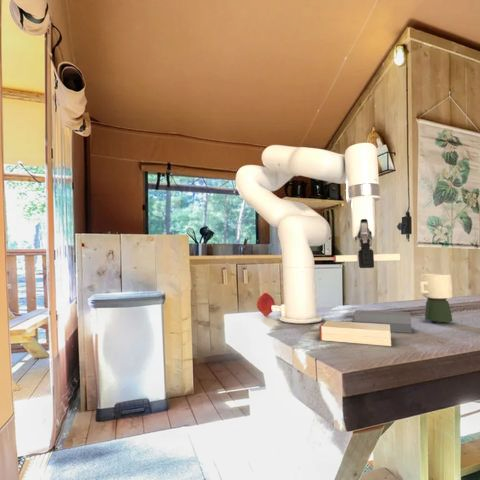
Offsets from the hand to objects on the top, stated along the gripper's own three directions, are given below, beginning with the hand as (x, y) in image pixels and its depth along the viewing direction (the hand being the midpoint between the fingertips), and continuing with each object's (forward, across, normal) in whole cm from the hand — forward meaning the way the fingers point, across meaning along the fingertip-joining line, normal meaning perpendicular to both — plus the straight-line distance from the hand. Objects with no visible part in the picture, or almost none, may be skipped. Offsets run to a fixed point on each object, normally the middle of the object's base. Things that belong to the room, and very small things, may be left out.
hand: (366, 266), depth 74 cm
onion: (+16, -15, -31) cm, 38 cm away
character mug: (+16, -18, +17) cm, 30 cm away
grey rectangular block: (+16, -6, +2) cm, 17 cm away
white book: (-1, 0, 0) cm, 1 cm away
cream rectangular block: (+16, +7, -3) cm, 17 cm away
